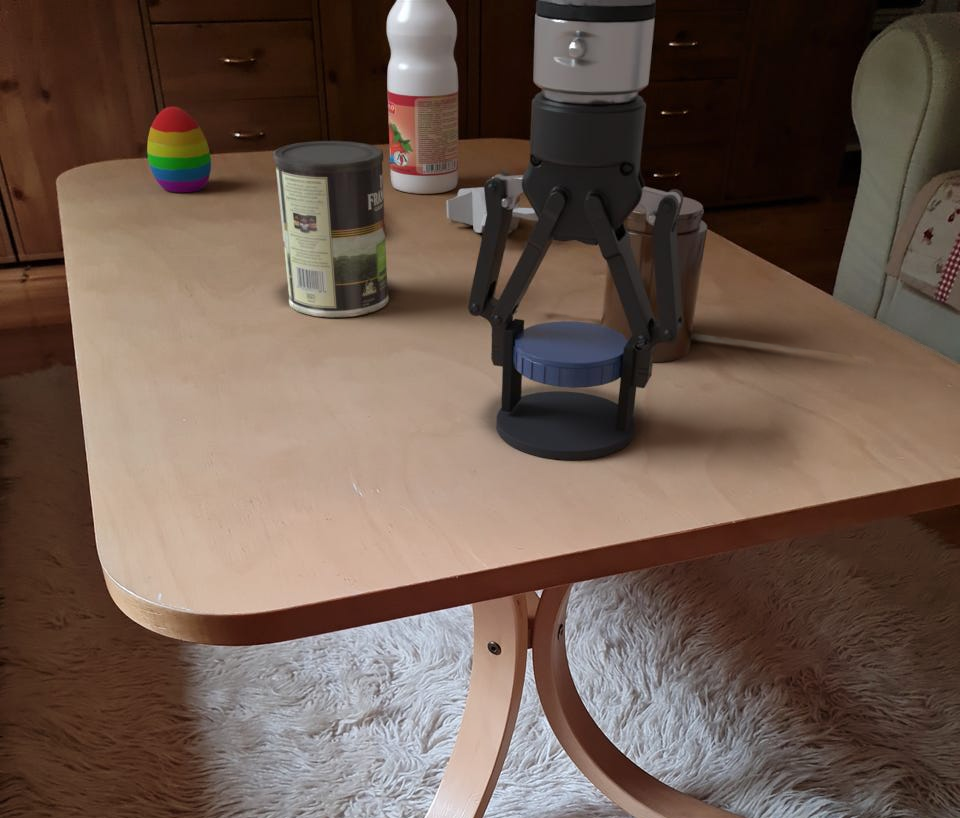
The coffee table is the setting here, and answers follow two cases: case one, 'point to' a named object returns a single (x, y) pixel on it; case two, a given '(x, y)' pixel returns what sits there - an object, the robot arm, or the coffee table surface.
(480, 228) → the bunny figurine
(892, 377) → the coffee table surface
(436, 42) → the fruit juice
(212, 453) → the coffee table surface
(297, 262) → the coffee can
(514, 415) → the coaster
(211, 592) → the coffee table surface
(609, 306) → the jar
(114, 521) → the coffee table surface
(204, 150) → the decorative egg
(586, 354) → the jar lid
